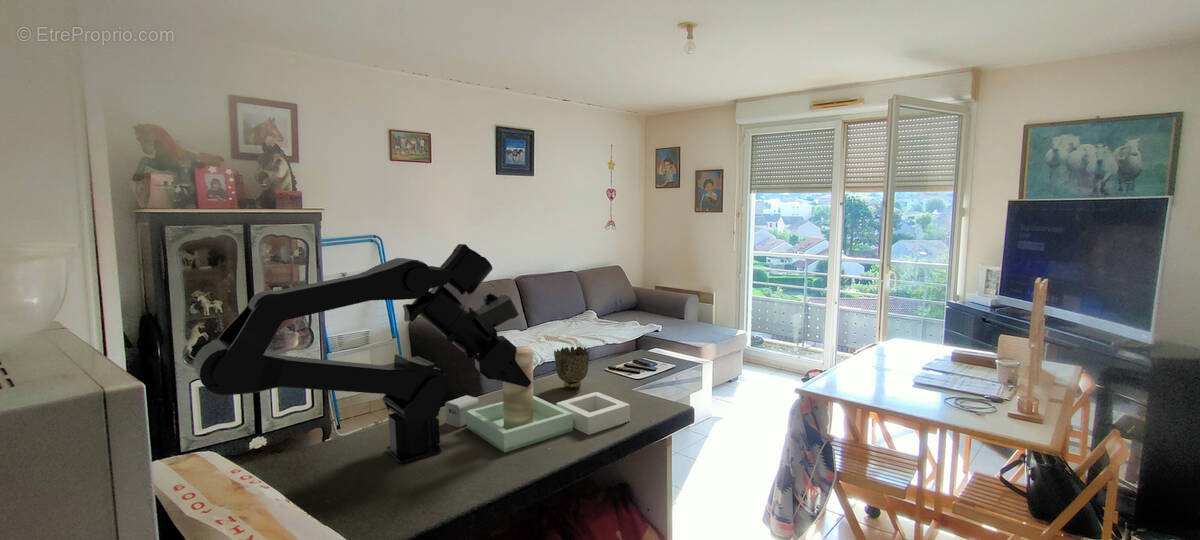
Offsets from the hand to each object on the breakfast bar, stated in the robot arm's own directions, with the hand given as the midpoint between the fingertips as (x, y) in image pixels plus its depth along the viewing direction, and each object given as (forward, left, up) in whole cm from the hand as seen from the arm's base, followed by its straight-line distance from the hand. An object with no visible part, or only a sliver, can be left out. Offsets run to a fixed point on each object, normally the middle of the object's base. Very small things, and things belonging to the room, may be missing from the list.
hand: (521, 377), depth 94 cm
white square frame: (+11, -5, -9) cm, 15 cm away
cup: (+19, +12, -9) cm, 25 cm away
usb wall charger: (-5, +10, -9) cm, 15 cm away
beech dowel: (-1, 0, -8) cm, 8 cm away
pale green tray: (-1, 0, -9) cm, 9 cm away
